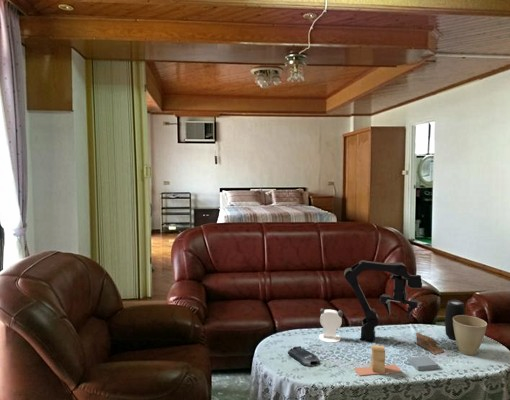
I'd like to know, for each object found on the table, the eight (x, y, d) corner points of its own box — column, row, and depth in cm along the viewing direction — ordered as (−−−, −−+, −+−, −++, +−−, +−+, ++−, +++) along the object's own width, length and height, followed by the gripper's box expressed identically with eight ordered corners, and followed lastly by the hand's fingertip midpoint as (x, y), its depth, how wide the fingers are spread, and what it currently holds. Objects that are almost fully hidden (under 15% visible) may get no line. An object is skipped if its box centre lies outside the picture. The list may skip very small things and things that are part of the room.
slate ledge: (417, 370, 185) (418, 366, 185) (408, 362, 193) (408, 358, 193) (438, 368, 187) (438, 364, 187) (427, 360, 195) (427, 356, 194)
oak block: (371, 366, 188) (371, 345, 187) (382, 367, 187) (383, 345, 186) (372, 372, 183) (373, 350, 182) (384, 372, 182) (385, 350, 181)
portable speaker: (466, 341, 216) (468, 304, 214) (448, 341, 216) (450, 304, 214) (458, 334, 224) (460, 299, 222) (441, 334, 224) (443, 299, 222)
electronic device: (286, 359, 199) (307, 368, 186) (286, 347, 199) (307, 355, 187) (300, 356, 204) (322, 364, 192) (300, 345, 205) (322, 352, 192)
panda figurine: (342, 334, 223) (342, 307, 222) (341, 343, 212) (342, 315, 211) (319, 332, 226) (320, 305, 225) (318, 341, 215) (318, 313, 214)
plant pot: (466, 361, 194) (468, 328, 192) (444, 347, 208) (445, 316, 207) (492, 357, 198) (494, 324, 196) (469, 344, 212) (470, 313, 211)
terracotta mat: (359, 376, 180) (359, 375, 180) (353, 369, 186) (353, 368, 186) (401, 372, 184) (401, 370, 184) (394, 365, 190) (395, 364, 190)
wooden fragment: (447, 355, 200) (447, 353, 200) (423, 354, 201) (423, 352, 201) (429, 334, 225) (429, 332, 225) (408, 333, 226) (408, 331, 226)
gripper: (422, 286, 214) (421, 315, 216) (385, 280, 224) (384, 309, 226) (417, 292, 205) (416, 322, 206) (379, 286, 215) (378, 315, 216)
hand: (398, 317), depth 214 cm, fingers open, 9 cm apart
